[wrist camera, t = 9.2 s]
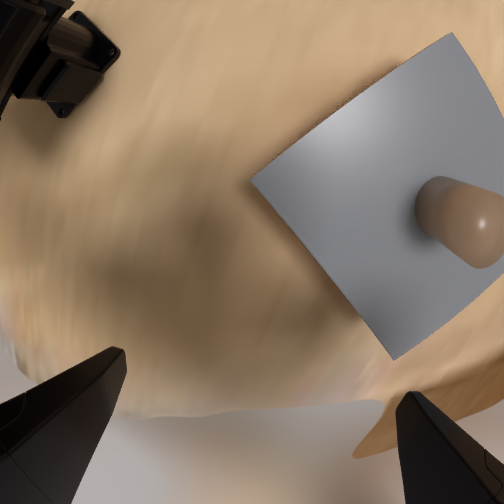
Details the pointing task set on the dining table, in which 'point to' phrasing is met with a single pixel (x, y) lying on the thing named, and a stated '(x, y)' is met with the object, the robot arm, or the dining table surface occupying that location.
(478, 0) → the dining table surface
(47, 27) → the robot arm
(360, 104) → the lid
